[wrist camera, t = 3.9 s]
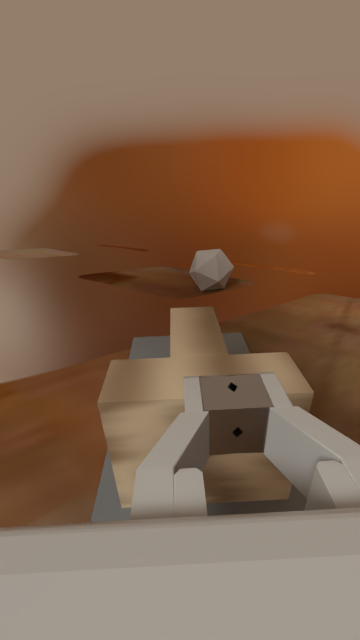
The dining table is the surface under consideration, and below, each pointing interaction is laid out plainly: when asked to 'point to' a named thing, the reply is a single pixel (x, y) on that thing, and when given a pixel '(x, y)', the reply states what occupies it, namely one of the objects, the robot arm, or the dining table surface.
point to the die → (211, 269)
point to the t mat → (111, 508)
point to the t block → (168, 402)
